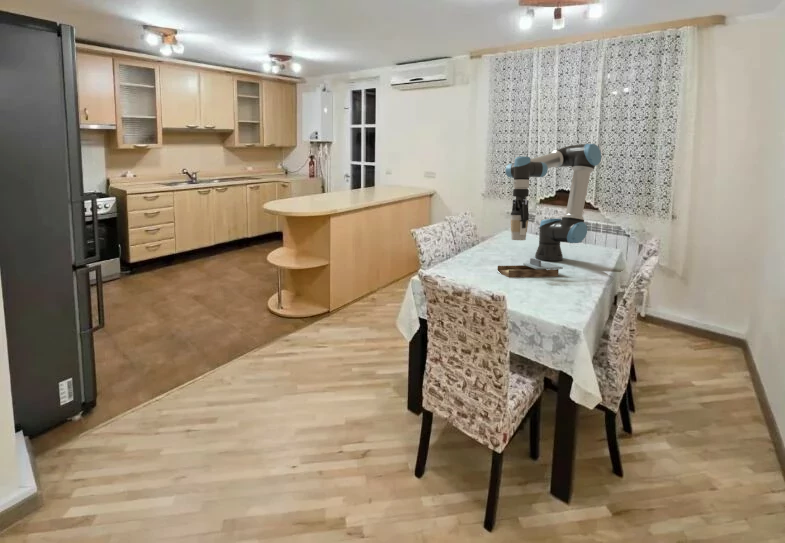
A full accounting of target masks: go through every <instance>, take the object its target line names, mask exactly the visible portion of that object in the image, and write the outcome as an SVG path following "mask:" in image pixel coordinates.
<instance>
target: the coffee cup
mask: <svg viewBox="0 0 785 543" xmlns="http://www.w3.org/2000/svg"><path fill="white" fill-rule="evenodd" d="M528 214H529V212H528ZM529 215H530V214H529ZM520 220H521V212H520V210H519V211H517V210H514V211H513V212H512V211H511V212H510V232H511V233H510V235H511V236H510V237H511V240H512V241H526V239H527V234H526V235H520ZM528 225H529V220H527V222H526V233H527V232H528V227H529V226H528Z"/></svg>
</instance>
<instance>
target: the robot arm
mask: <svg viewBox="0 0 785 543" xmlns="http://www.w3.org/2000/svg"><path fill="white" fill-rule="evenodd" d="M601 160H602V152H601V150H600V147H599V146H598V145H597V144H595V143H584V144H575V145H573V144H571V145H567V146H564V147H561V148H558V149H556V150H552V151H551V152H550V153H547V154H544V155H540V156H537V157H534V158H531V157H529V156H516V157H515V158H514V162H512V163H509V164H507V165H506V167H505V175H506V177H507V178H511V179H512V178H513V182H512V184H513V188H514V189H513V191H512V196H513V197H515V199H513V200H512V207H511V208H512V209H511V213H512V212H513V211H514V210H517V211H519V210H520V212H521V220H520V235H526V236H527V232H526V222H527V220H528V221H529V218H530V216H529V215H530V214H528V213H529V202H530V201H529V200H528V199H526V197H527V198H528V197H529V194H530V193H529V192H530V189H529V188H530V178H543V177H545V176H546V175H547V173H548V172H549V169H551V168H556V169H557V168H562V167H563V168H564V167H566V168H567V167H571V169H572V171H573V174H572V179H571V185H570V189H569V195H568V200H567V205H566V211H565V214H564V215H563V216H562V217H561V218H560V217H558V218H547V219H546V218H545V219H542V220H541V221H540V222H539V238H538V239H539V240H538V246H537V250H536V252H535V253H534V254H535V255H534V259H536V260H540V261H562V260H563V259H564V258H563V252H562V248H561V243H568V244H579V243H581V242H583V240H584V239H585V238H586V237H587V235H588V226H587V224H586V223H585V218H584V217H583V213H584V209H585V208H584V207H585V204H586V203H585V202H586V200H587V198H586V196H587V192H588V188H589V183H590V176H591V174H592V172H594V171H595V167H597V166H598V165H599V164H600V163H601Z"/></svg>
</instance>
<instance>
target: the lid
mask: <svg viewBox="0 0 785 543" xmlns="http://www.w3.org/2000/svg"><path fill="white" fill-rule="evenodd" d="M523 265H525V266H528V267H531V268H534V269H559V270H563V269H564V268H563V266H560V265H556V264H553V263H551V262H542V260H540V259H536V258H534V257H533V258H532V257H530V258H529V262H525V263H523Z"/></svg>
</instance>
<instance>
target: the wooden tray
mask: <svg viewBox="0 0 785 543" xmlns="http://www.w3.org/2000/svg"><path fill="white" fill-rule="evenodd" d="M497 270H498V271H499V272H500V273H501V274H500V273H499V274H500V275H503V276H505V277H507V278H544V277H545V278H546V277H548V278H550V277H559V270H560V269H534V268H531V267H528V266H525V265H517V264H516V265H497Z"/></svg>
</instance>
